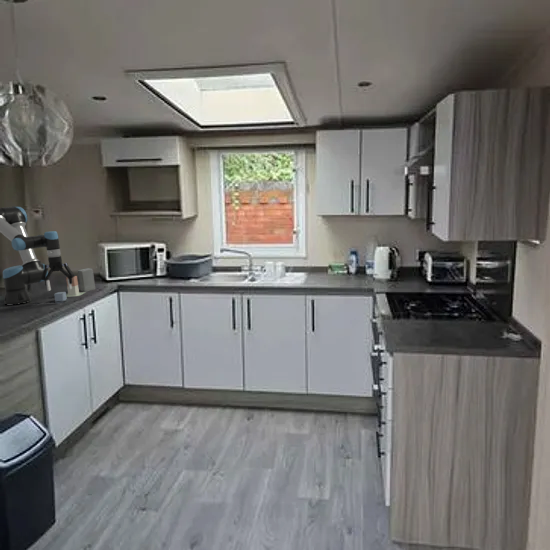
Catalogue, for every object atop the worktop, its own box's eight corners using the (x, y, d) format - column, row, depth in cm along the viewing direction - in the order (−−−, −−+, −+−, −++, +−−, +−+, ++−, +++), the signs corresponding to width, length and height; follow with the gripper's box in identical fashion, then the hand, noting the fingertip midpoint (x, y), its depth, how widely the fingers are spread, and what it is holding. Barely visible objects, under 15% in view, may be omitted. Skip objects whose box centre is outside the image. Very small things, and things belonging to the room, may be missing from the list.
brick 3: (68, 295, 318) (67, 286, 317) (71, 293, 323) (70, 285, 322) (75, 295, 318) (74, 286, 317) (79, 293, 323) (77, 284, 322)
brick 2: (67, 286, 317) (66, 277, 316) (70, 285, 322) (69, 276, 321) (74, 286, 317) (73, 277, 316) (78, 284, 322) (76, 275, 321)
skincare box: (91, 290, 339) (87, 267, 336) (96, 290, 334) (93, 268, 332) (79, 292, 333) (76, 269, 330) (85, 293, 328) (81, 270, 325)
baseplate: (61, 298, 315) (60, 297, 315) (69, 294, 327) (69, 293, 327) (79, 297, 315) (78, 295, 314) (86, 293, 327) (86, 292, 326)
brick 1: (55, 303, 303) (54, 293, 302) (59, 301, 308) (57, 292, 307) (63, 302, 303) (62, 293, 302) (67, 300, 308) (65, 291, 307)
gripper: (31, 258, 297) (37, 292, 300) (71, 255, 296) (76, 289, 299) (38, 257, 304) (43, 290, 308) (76, 253, 303) (81, 287, 307)
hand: (59, 289), depth 304 cm, fingers open, 13 cm apart
